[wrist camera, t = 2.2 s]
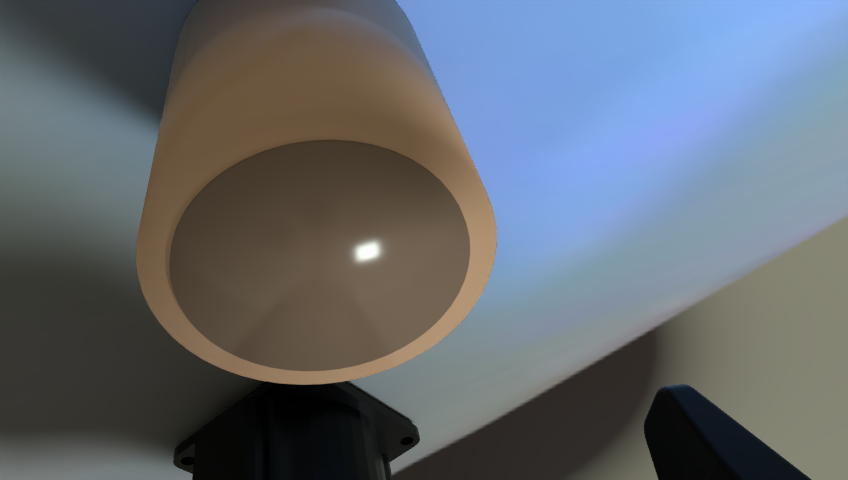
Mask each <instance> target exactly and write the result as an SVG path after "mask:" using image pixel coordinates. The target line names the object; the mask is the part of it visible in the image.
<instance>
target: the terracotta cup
mask: <svg viewBox="0 0 848 480" xmlns="http://www.w3.org/2000/svg"><path fill="white" fill-rule="evenodd" d="M496 246H497V231H496V222H495V217H494V212H493V208H492V205H491V203H490V200H489V197H488V195H487V192H486V190H485V188H484V185H483V183H482V181H481V179H480V177H479V174H478V172H477V170H476V168H475V165H474V163H473V161H472V159H471V156H470V154H469V152H468V150H467V147H466V145H465V143H464V141H463V139H462V136H461V134H460V132H459V130H458V127H457V125H456V123H455V121H454V118H453V116H452V114H451V112H450V109H449V107H448V105H447V103H446V100H445V98H444V96H443V94H442V92H441V89H440V87H439V85H438V83H437V80H436V78H435V76H434V74H433V71H432V69H431V67H430V65H429V62H428V60H427V58H426V56H425V54H424V51H423V49H422V47H421V45H420V42H419V40H418V38H417V36H416V33H415V31H414V29H413V27H412V25H411V23H410V21H409V20H408V18H407V16H406V14H405V13H404V11H403V10H402V9H401V7H400V6H399V5H398V3H397V2H396V1H395V0H199V1H198V2H197V3H196V4H195V5H194V7H193V8H192V10H191V12H190V13H189V15H188V16H187V18H186V20H185V22H184V24H183V27H182V29H181V31H180V33H179V37H178V41H177V44H176V48H175V53H174V58H173V63H172V68H171V73H170V78H169V83H168V88H167V93H166V98H165V103H164V108H163V113H162V118H161V123H160V128H159V133H158V138H157V143H156V148H155V153H154V158H153V163H152V168H151V173H150V178H149V183H148V188H147V193H146V198H145V203H144V208H143V213H142V218H141V223H140V228H139V233H138V239H137V249H136V263H137V274H138V278H139V282H140V285H141V289H142V293H143V295H144V297H145V299H146V301H147V303H148V305H149V308H150V310H151V311H152V312H153V314H154V315H155V317H156V318H157V320H158V321H159V323H160V324H161V325H162V326H163V327H164V329H165V330H166V331H167V332H168V333H169V334H170V335H171V336H172V337H173V338H174V339H175V340H176V341H177V342H179V343H180V344H181V345H182V346H184V347H185V348H186V349H187V350H189V351H190V352H192V353H193V354H195V355H196V356H198V357H200V358H201V359H203V360H204V361H206V362H209V363H211V364H213V365H215V366H217V367H219V368H221V369H223V370H226V371H229V372H232V373H235V374H238V375H240V376H244V377H248V378H252V379H256V380H260V381H267V382H274V383H280V384H297V385H310V384H327V383H336V382H343V381H348V380H353V379H358V378H363V377H366V376H369V375H373V374H376V373H380V372H382V371H385V370H388V369H390V368H393V367H395V366H398V365H400V364H402V363H404V362H406V361H408V360H410V359H412V358H414V357H416V356H418V355H419V354H421V353H423V352H424V351H426V350H427V349H429V348H431V347H432V346H434V345H435V344H436V343H438V342H439V341H440V340H441V339H443V338H444V337H445V336H447V335H448V334H449V333H450V332H451V331H452V330H453V329H454V328H455V327H456V326H457V325H458V324H459V323H460V322H461V321H462V320H463V319H464V318H465V317H466V315H467V314H468V313H469V312H470V311H471V309H472V308H473V307H474V305H475V303H476V302H477V300H478V299H479V297H480V296H481V294H482V292H483V290H484V288H485V286H486V284H487V282H488V280H489V277H490V274H491V271H492V267H493V264H494V260H495V253H496Z"/></svg>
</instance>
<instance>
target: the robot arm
mask: <svg viewBox="0 0 848 480" xmlns="http://www.w3.org/2000/svg"><path fill="white" fill-rule="evenodd" d="M644 434H645V438H646V441H647V445H648V448H649V451H650V454H651V457H652V461H653V464H654V467H655V470H656V473H657V476H658V479H659V480H811V479H810V478H809V477H807V476H806V475H805V474H803V473H802V472H801V471H800V470H798V469H797V468H796V467H794V466H793V465H792V464H791V463H789V462H788V461H787V460H785V459H784V458H783V457H782V456H780V455H779V454H778V453H776V452H775V451H774V450H773V449H771V448H770V447H769V446H767V445H766V444H765V443H764V442H762V441H761V440H760V439H758V438H757V437H756V436H754V435H753V434H752V433H751V432H749V431H748V430H747V429H745V428H744V427H743V426H742V425H740V424H739V423H738V422H736V421H735V420H734V419H733V418H731V417H730V416H729V415H727V414H726V413H725V412H724V411H722V410H721V409H720V408H718V407H717V406H716V405H714V404H713V403H712V402H711V401H709V400H708V399H707V398H706V397H704V396H703V395H702V394H700V393H699V392H698V391H696V390H695V389H694V388H692V387H691V386H688V385H685V384H679V385H670V386H664V387H661V388H659V389H658V390H657V392H656V394H655V397H654V399H653V401H652V404H651V406H650V409H649V411H648V414H647V416H646V419H645V422H644ZM419 440H420V438H419V433H418V428H417V427H416V426H415V425H413V424H412V423H410V422H409V421H407V420H405V419H404V418H402V417H400V416H399V415H397V414H396V413H394V412H392V411H391V410H389V409H387V408H386V407H384V406H383V405H381V404H379V403H378V402H376V401H374V400H373V399H371V398H370V397H368V396H366V395H365V394H363V393H361V392H360V391H358V390H356V389H355V388H353V387H352V386H350V385H348V384H347V383H345V382H336V383H327V384H310V385H297V384H280V383H274V382H267V381H266V382H264V383H263V384H262V385H260V386H259V387H258V388H256V389H255V390H254V391H252V392H251V393H249V394H248V395H247V396H245V397H244V398H243V399H241V400H240V401H239V402H237V403H236V404H234V405H233V406H232V407H230V408H229V409H228V410H226V411H225V412H224V413H222V414H221V415H219V416H218V417H217V418H215V419H214V420H213V421H211V422H210V423H209V424H207V425H206V426H204V427H203V428H202V429H200V430H199V431H198V432H196V433H195V434H193V435H192V436H191V437H189V438H188V439H187V440H185V441H184V442H183V443H181V444H180V445H178V446H177V447H176V448H175V451H174V460H173V463H174V465H175V466H177V467H178V468H180V469H182V470H185V471H187V472H190V473H192V474H193V478H192V480H392V475H391V469H390V463H389V462H391V461H392V460H394V459H395V458H397V457H398V456H400V455H402V454H403V453H405V452H406V451H408V450H409V449H411V448H412V447H414V446H415V445H417V444H418V443H419Z"/></svg>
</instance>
